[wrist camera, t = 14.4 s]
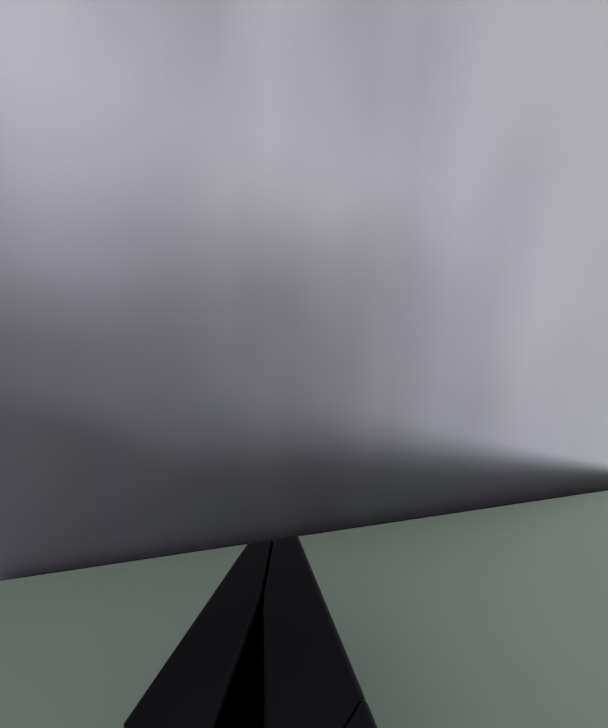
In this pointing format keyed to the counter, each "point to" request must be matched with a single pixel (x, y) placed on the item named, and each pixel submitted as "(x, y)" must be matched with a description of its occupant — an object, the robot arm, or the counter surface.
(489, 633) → the tray
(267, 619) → the robot arm
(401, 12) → the counter surface
